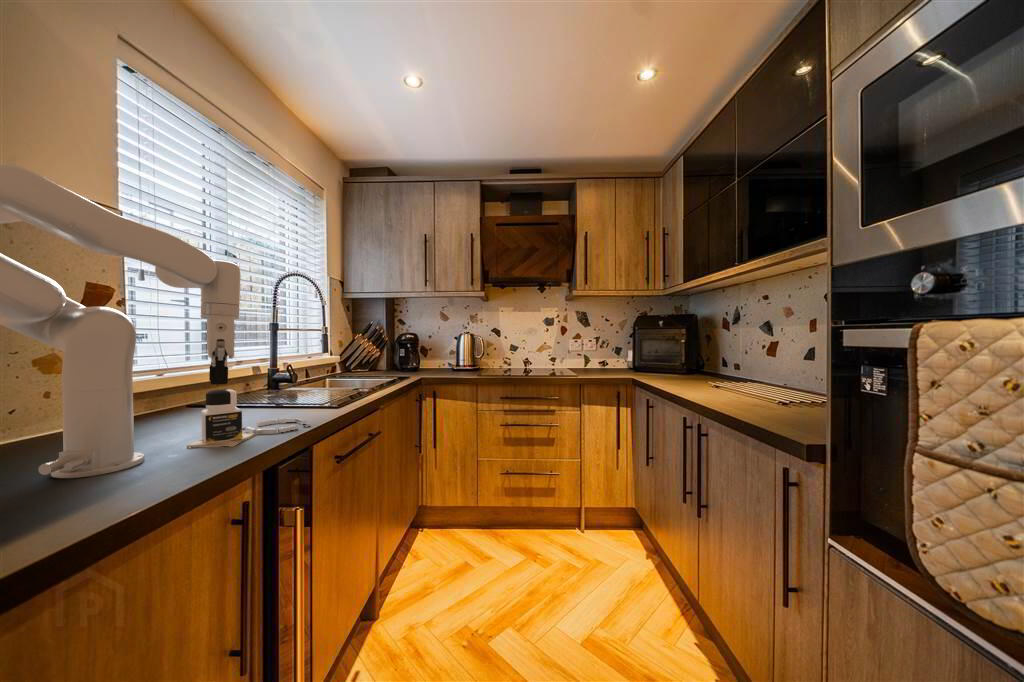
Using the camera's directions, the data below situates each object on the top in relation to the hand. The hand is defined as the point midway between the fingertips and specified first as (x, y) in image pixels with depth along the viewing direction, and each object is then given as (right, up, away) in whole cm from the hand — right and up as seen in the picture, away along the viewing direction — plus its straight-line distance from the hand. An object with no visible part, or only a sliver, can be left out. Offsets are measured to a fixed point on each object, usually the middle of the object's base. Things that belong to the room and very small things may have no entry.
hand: (218, 382), depth 95 cm
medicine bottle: (0, -14, +1) cm, 14 cm away
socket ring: (+5, -14, +15) cm, 21 cm away
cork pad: (0, -15, +1) cm, 15 cm away
